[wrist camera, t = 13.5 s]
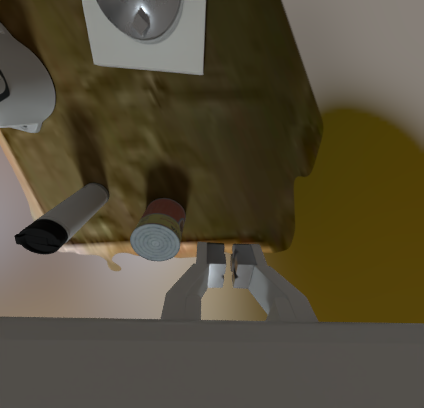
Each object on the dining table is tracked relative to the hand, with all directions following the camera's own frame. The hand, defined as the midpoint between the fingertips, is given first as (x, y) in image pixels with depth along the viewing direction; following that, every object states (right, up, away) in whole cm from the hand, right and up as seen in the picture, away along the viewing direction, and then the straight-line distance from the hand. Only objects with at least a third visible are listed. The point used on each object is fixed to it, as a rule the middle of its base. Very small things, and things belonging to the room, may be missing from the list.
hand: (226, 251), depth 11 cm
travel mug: (-32, +6, +39) cm, 50 cm away
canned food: (-14, 0, +43) cm, 45 cm away
